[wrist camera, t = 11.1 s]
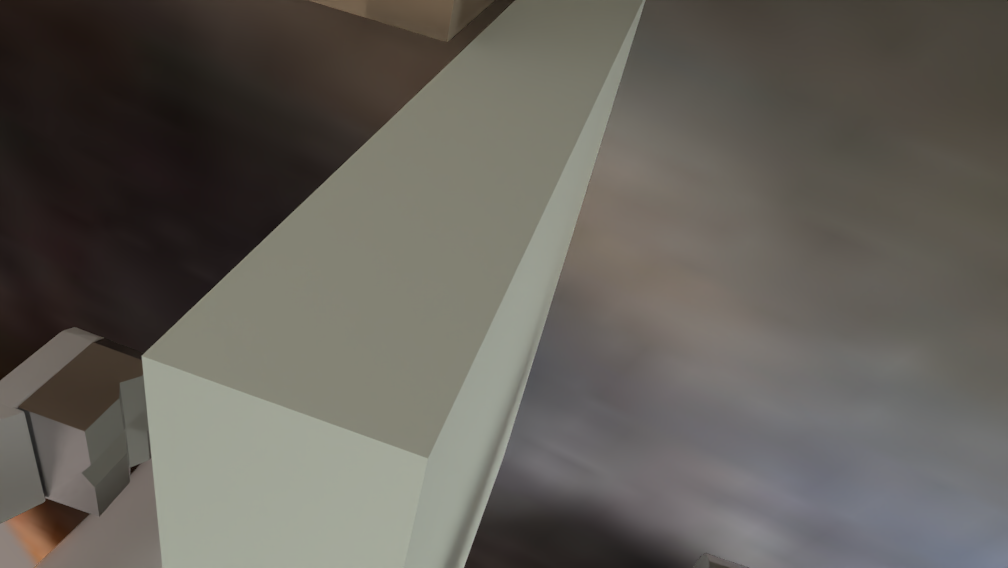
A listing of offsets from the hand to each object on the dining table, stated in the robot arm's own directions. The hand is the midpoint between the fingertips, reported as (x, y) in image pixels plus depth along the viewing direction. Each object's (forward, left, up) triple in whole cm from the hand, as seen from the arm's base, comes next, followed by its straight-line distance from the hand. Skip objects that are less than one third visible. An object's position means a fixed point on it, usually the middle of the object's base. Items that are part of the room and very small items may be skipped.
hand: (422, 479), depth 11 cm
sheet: (0, 0, -6) cm, 6 cm away
